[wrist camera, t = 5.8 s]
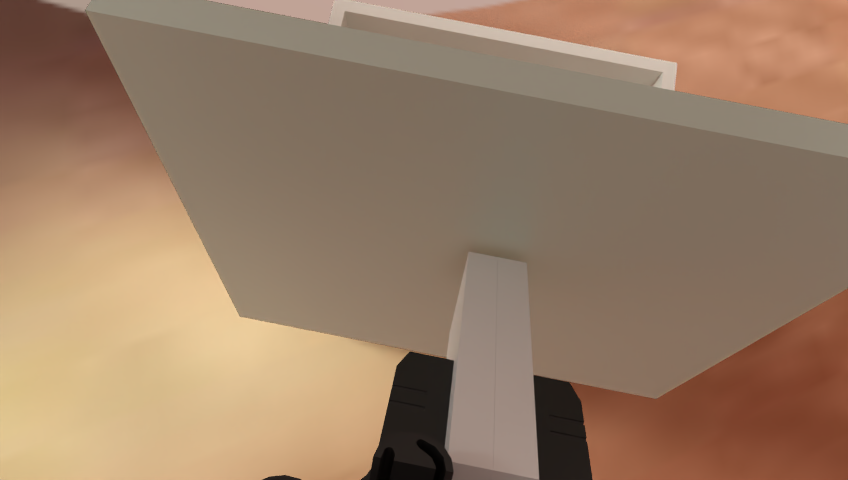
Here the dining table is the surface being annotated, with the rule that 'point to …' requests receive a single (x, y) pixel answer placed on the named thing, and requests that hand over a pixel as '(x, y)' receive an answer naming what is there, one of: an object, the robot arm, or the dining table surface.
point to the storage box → (504, 43)
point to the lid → (481, 190)
